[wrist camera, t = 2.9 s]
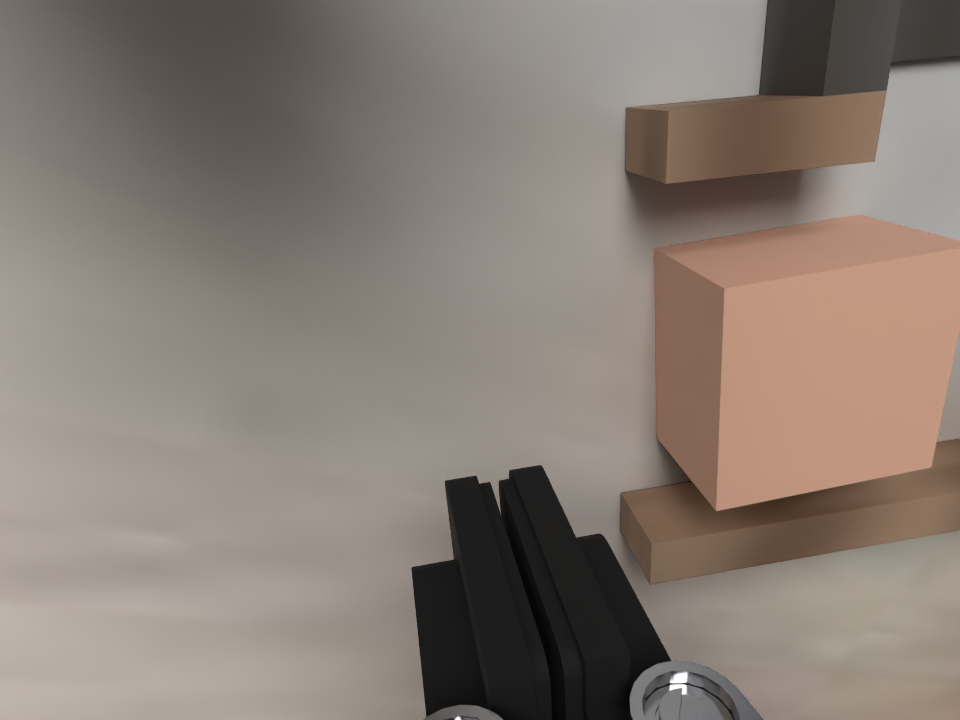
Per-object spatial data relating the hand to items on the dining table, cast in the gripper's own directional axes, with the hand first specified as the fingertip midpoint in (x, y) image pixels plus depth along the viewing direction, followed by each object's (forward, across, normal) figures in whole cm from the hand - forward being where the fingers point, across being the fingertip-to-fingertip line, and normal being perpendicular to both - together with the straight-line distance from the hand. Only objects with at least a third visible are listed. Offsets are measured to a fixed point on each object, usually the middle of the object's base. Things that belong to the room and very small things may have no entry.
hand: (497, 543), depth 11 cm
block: (+8, -9, 0) cm, 12 cm away
